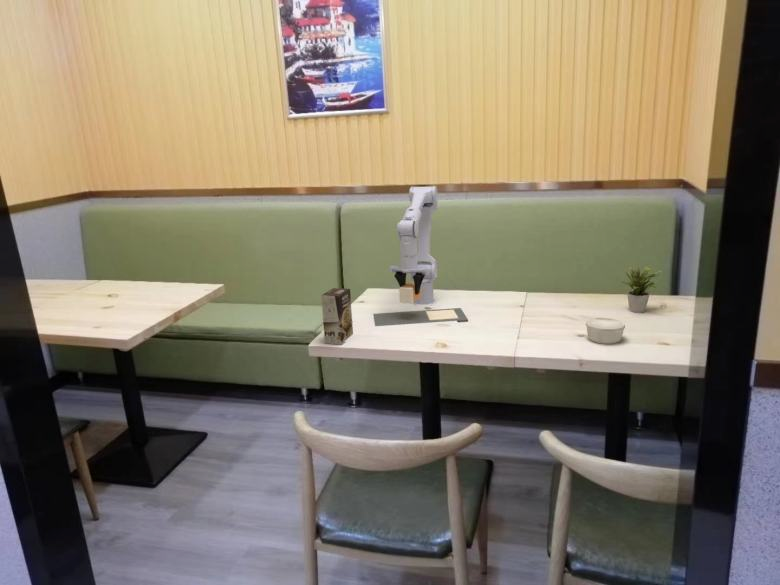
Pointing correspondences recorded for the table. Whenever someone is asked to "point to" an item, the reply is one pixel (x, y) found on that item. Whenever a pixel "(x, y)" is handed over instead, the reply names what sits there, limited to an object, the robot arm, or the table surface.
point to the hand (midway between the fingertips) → (410, 293)
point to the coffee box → (337, 315)
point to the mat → (413, 317)
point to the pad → (441, 315)
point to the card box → (408, 293)
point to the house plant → (639, 289)
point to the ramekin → (605, 330)
